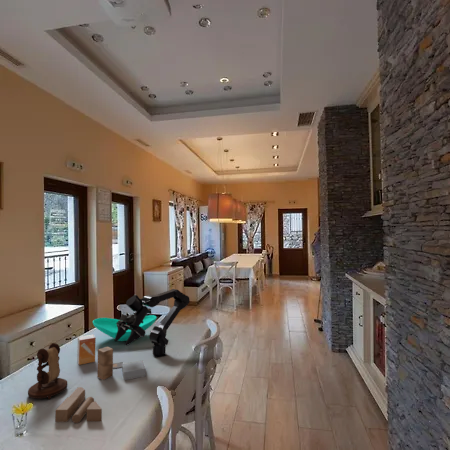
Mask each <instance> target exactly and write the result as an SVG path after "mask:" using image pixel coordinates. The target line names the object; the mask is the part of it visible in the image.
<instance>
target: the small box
mask: <svg viewBox="0 0 450 450" xmlns="http://www.w3.org/2000/svg"><path fill="white" fill-rule="evenodd" d="M76 352H77V354H76V355H77V356H76V357H77V363H78V366H80V365H85V364H90V363H95V362H96V336H95V334H93V333H92V334H89V335H81V336H77V351H76Z"/></svg>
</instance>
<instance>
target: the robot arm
mask: <svg viewBox="0 0 450 450" xmlns="http://www.w3.org/2000/svg"><path fill="white" fill-rule="evenodd" d="M172 298H173V299H174V301H173V306H172V307H171V309H170V310H169V312H168V313H167V314H166V315H165V317H164V319H163V320H162V322H161V323H160V324H159V325H154V326H153V328H152V329H151V330H150V333H149V335H148V336H149V340H150V341H151V344H153V346H152V355H153V357H154V358H160V357H166V356H167V353H166V349H167V348H166V345H168V343H169V339H168V338H166V336H167V332H168V331H167V330H168V329H169V328H170V326H171V325H172V323H174V320H175V319H176V317H177V316H178V315H179V313H180V312H181V310H183V309H185V308H186V307H187V306H188V305H189V304H190V301H191V300H190V296H188V295H186V294H184V293H183V292H182V291H180V290H179V289H176V288H171V289H169V290H167V291H164V292H163V291H162V292H161V293H160V292H159V293H158V294H157V293H156V294H147V295H145V296H143V297H142V298H140V297H139V296H138V294H134V295H133V296H131V297H129V298H128V299H127V300H126V303H125V304H126V306H127V307H128V308H130V310H132V312H134V314H131V313H130V314H129V315H127V314H121V316H120V318H119V319H118V320H119V321H118V322H117V323H116V324H117V327H118V331H117V334H116V337H115V339H114V342H117V341H118V340H119V339H120V338H121V337H122V336H123V335H124V334H125V333H126V331H127V330H128V329H129V330H131V335H130V336H129V338H128V340H127V341H125V344H124V345H125V346H126V347H127V346H129V345H130V344H132V343H133V342H135V341H137V340H138V339H141V338H144V337H145V335H146V330H144V329H143V328H141V327H140V326H139V325H140V324H141V323H143V319H144V318H145V316H148V314H149V315H151V314H152V309H151V308H155V307H157V306H158V305H159V304H160V303H161V302H164V301H166V300H169V299H172ZM121 320H122V321H121ZM126 323H127V324H126ZM129 327H130V328H129ZM118 342H119V341H118Z"/></svg>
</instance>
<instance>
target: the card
mask: <svg viewBox="0 0 450 450" xmlns="http://www.w3.org/2000/svg"><path fill="white" fill-rule="evenodd" d="M123 363H124V361H121V362H115V363H114V362H113V370H115V369H116V370H117V369H122V364H123Z"/></svg>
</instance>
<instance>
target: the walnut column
mask: <svg viewBox="0 0 450 450" xmlns="http://www.w3.org/2000/svg"><path fill="white" fill-rule="evenodd" d="M113 364H114V348H112V347H110V346H104V347H101V348H99V349H98V348H97V373H96V374H97V378H98V379H100V380H102V381H105V380H106V379H110V378H112V377H113V376H114V375H113V374H114V372H113V370H114V369H113Z"/></svg>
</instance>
